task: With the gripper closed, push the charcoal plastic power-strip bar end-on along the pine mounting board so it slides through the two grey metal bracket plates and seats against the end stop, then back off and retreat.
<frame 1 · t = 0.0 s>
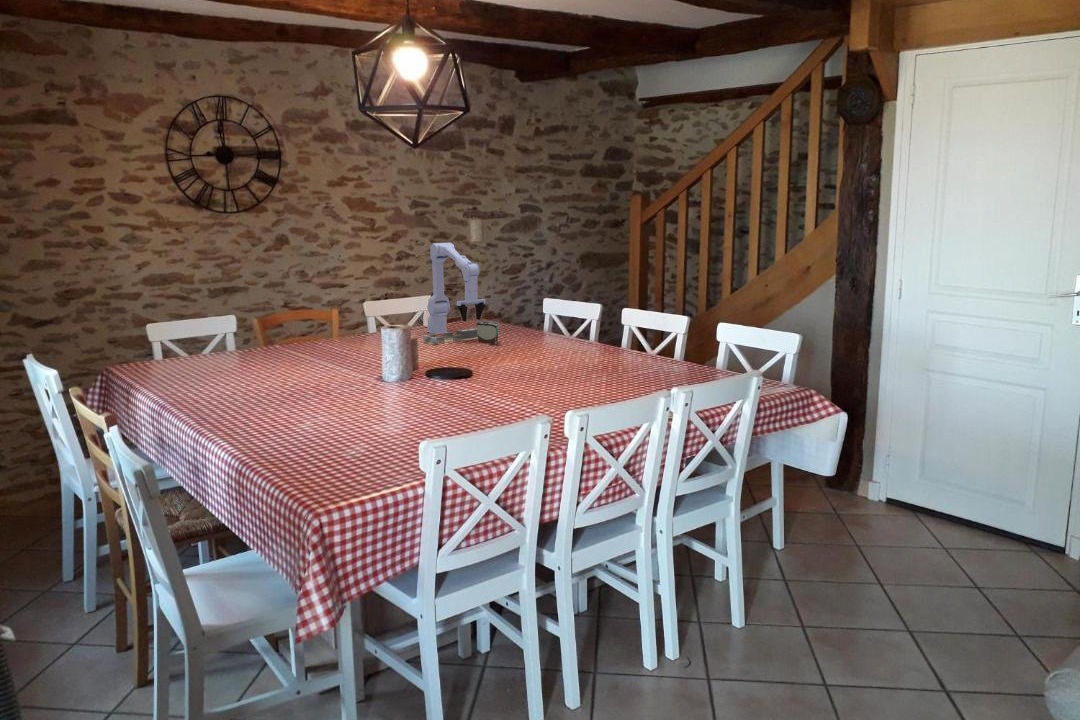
hand: (471, 320, 382), 10 cm above the table, fingers open, 7 cm apart
food container: (490, 343, 381), on the table
mount: (457, 339, 388), on the table
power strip: (471, 336, 393), point 1 cm above the table, touching mount
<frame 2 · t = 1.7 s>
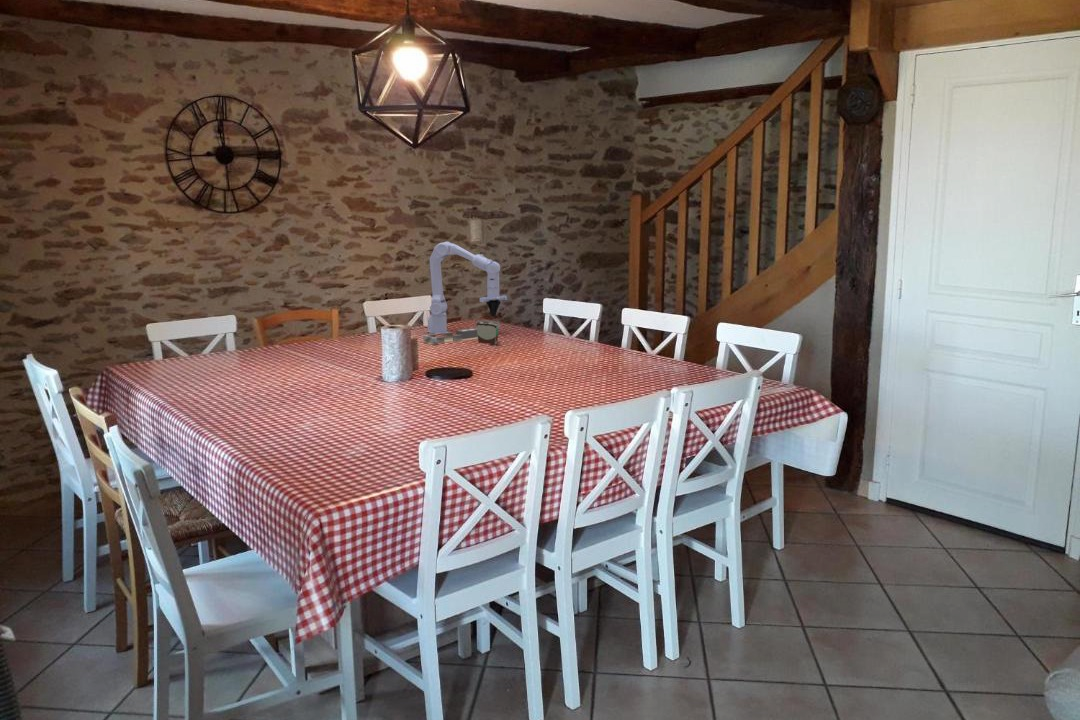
hand: (493, 316, 399), 9 cm above the table, fingers closed
nothing on the table moved.
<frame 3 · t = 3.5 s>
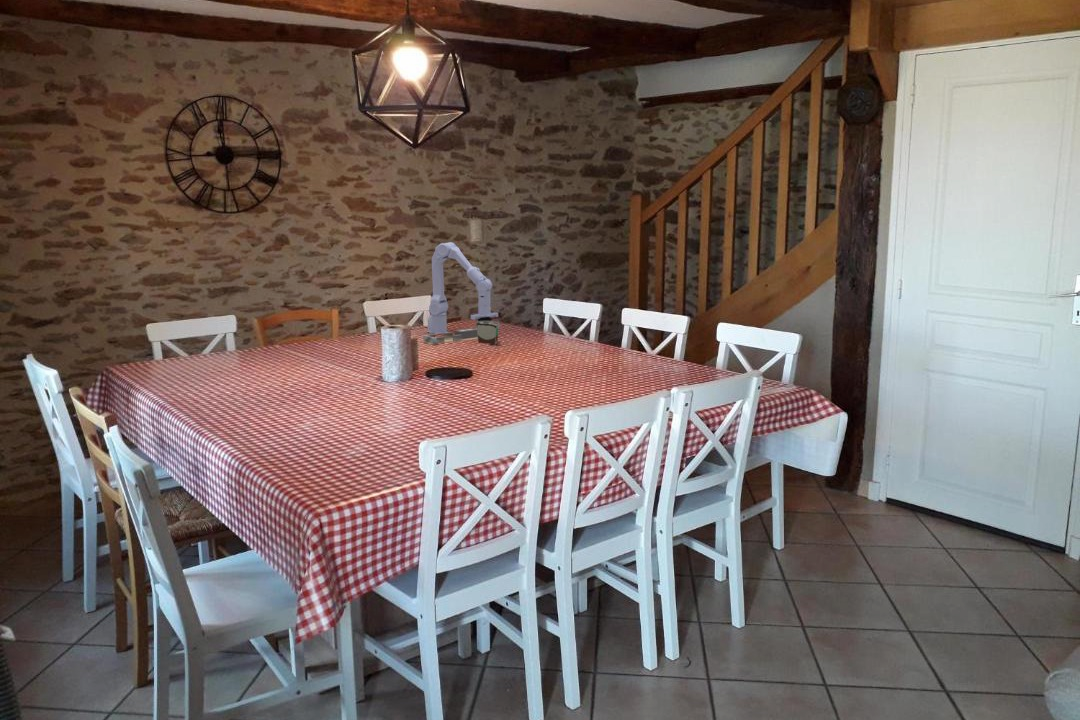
hand: (484, 333, 397), 2 cm above the table, fingers closed
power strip: (469, 337, 392), point 1 cm above the table, touching gripper
everything else where it was.
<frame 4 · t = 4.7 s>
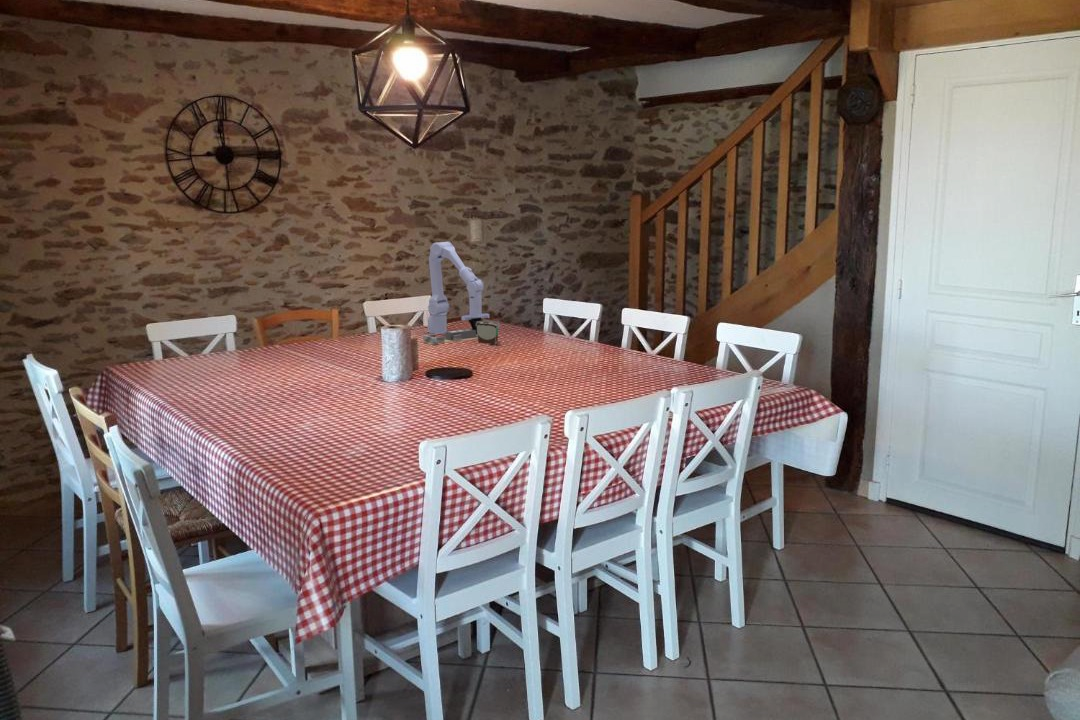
hand: (475, 334, 394), 2 cm above the table, fingers closed
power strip: (460, 338, 389), point 1 cm above the table, touching gripper, mount
everything else where it was.
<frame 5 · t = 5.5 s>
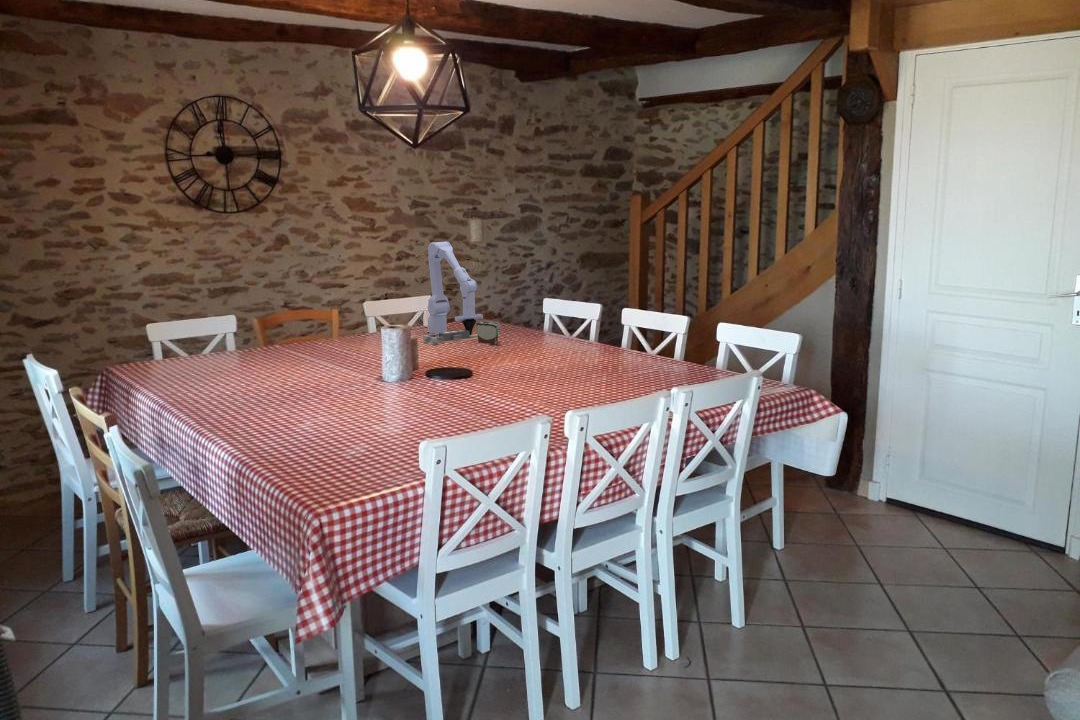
hand: (469, 335, 392), 2 cm above the table, fingers closed
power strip: (454, 339, 387), point 1 cm above the table, touching gripper, mount
everything else where it was.
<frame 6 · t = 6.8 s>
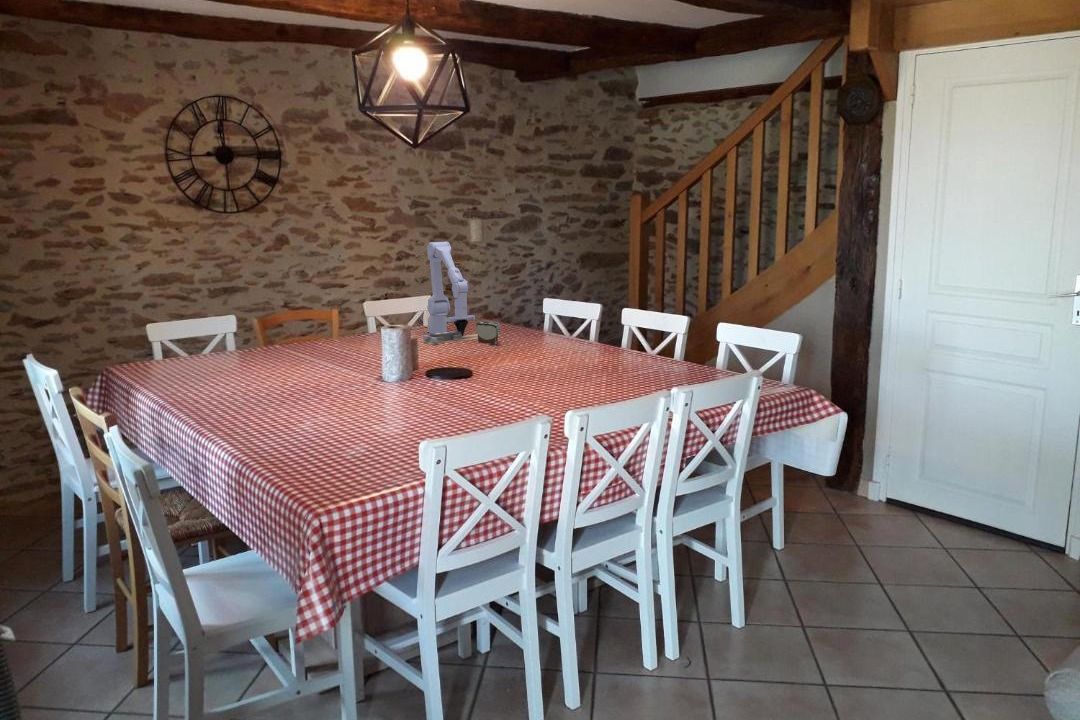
hand: (461, 336, 389), 2 cm above the table, fingers closed
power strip: (445, 340, 384), point 1 cm above the table, touching gripper, mount
everything else where it was.
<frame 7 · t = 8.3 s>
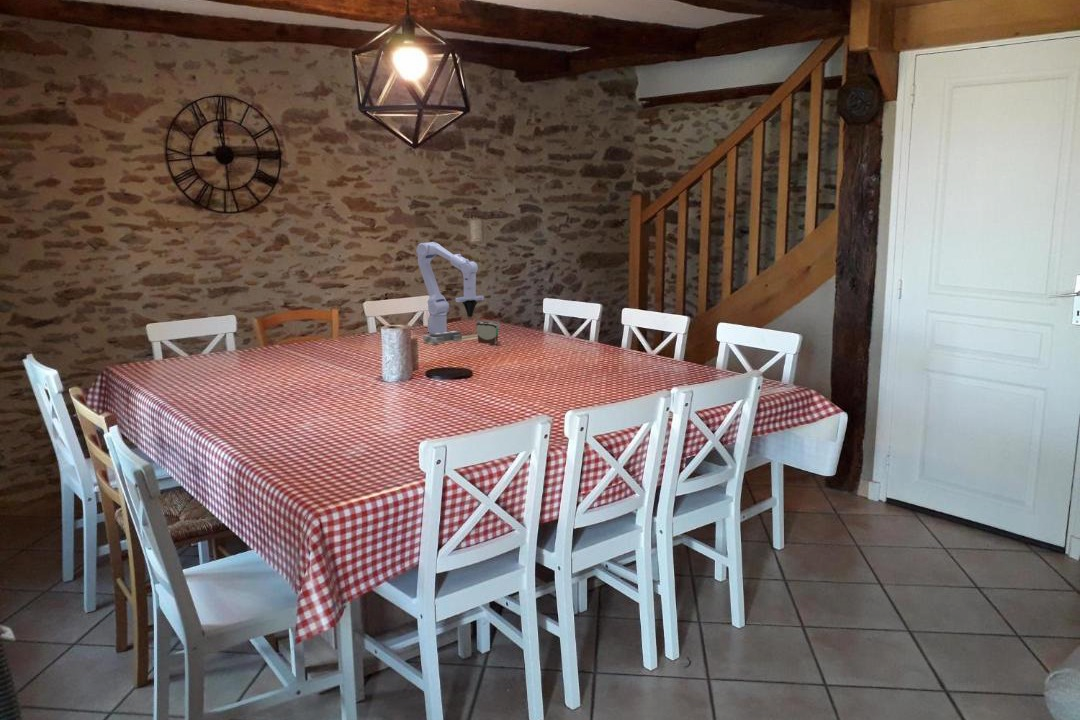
hand: (469, 316, 394), 10 cm above the table, fingers closed
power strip: (445, 340, 384), point 1 cm above the table, touching mount
everything else where it was.
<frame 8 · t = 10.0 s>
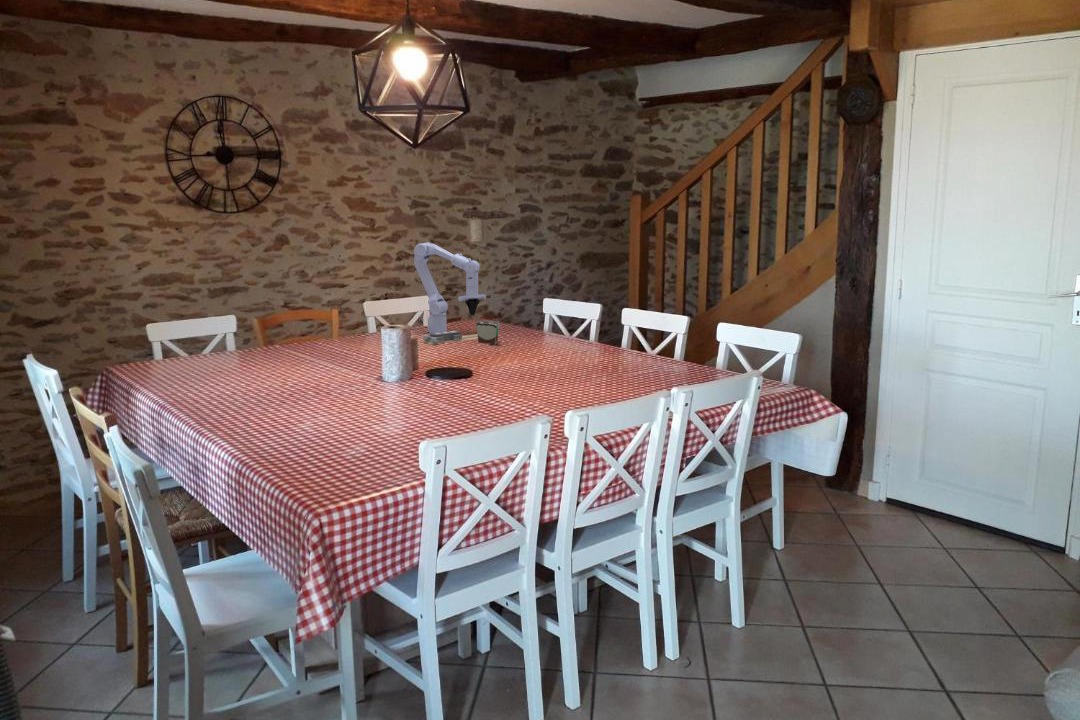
hand: (472, 314, 398), 10 cm above the table, fingers closed
nothing on the table moved.
at the end: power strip 0.2 cm from the target spot on the mount, point 0.6 cm above the mount's base; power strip tilted 0° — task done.
